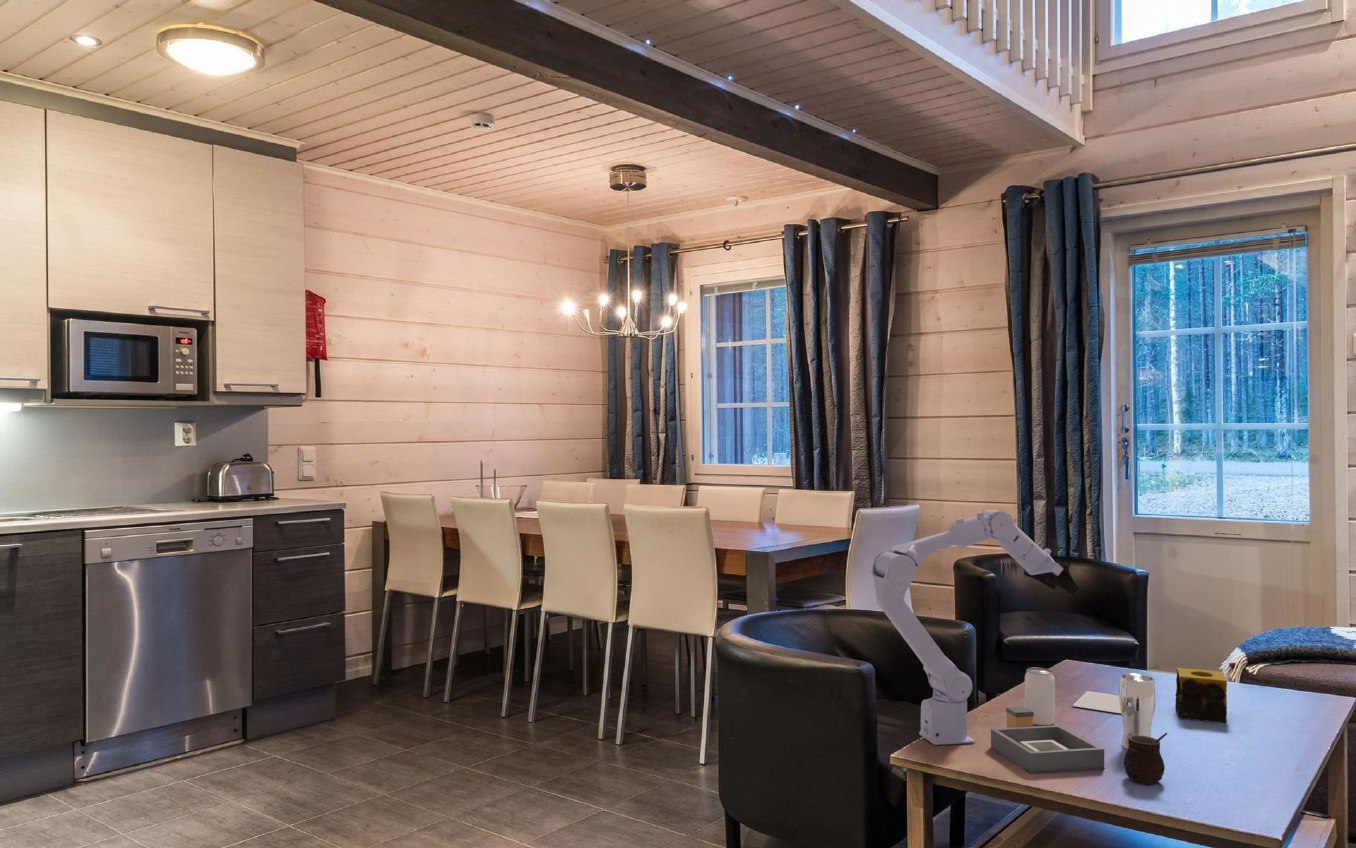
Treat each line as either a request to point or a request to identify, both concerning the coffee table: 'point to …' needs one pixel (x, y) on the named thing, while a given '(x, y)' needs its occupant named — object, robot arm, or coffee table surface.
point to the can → (1040, 695)
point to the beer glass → (1136, 705)
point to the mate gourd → (1144, 759)
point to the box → (1047, 749)
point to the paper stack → (1099, 702)
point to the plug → (1019, 717)
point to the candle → (1201, 695)
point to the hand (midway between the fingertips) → (1065, 588)
